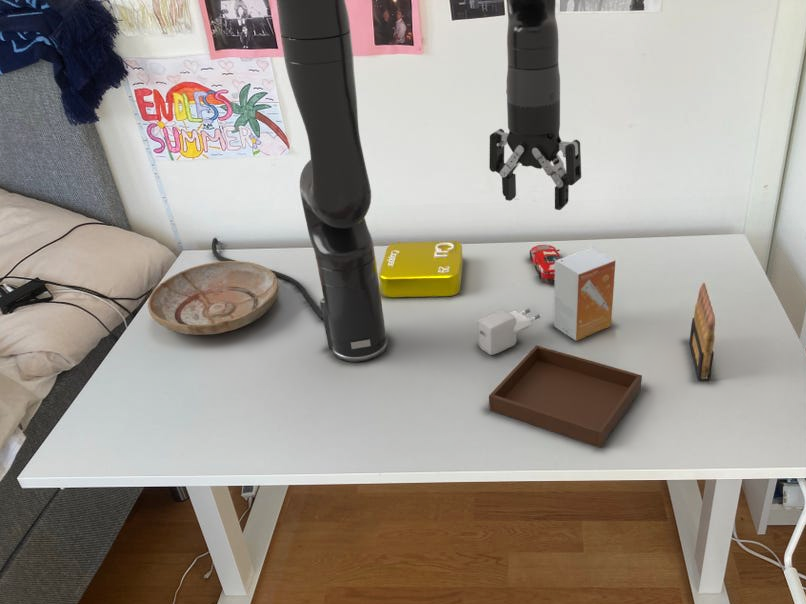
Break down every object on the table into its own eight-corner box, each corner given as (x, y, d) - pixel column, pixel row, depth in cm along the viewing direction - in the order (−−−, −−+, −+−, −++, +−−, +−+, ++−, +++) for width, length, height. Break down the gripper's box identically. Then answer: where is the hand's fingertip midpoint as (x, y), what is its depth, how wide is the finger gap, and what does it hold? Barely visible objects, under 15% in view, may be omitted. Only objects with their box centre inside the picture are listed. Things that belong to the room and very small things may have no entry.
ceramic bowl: (137, 352, 136) (128, 328, 133) (175, 286, 155) (168, 263, 152) (270, 344, 136) (264, 320, 133) (292, 279, 155) (287, 256, 152)
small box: (576, 342, 132) (578, 274, 125) (553, 326, 136) (553, 259, 129) (612, 326, 136) (616, 259, 128) (588, 311, 140) (591, 245, 133)
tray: (489, 410, 118) (488, 395, 117) (536, 359, 129) (536, 344, 127) (600, 447, 110) (601, 432, 108) (640, 389, 120) (642, 375, 119)
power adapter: (525, 323, 138) (525, 294, 134) (544, 335, 134) (544, 305, 131) (475, 347, 132) (473, 317, 129) (493, 359, 129) (491, 329, 126)
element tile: (390, 261, 160) (387, 239, 157) (463, 259, 159) (462, 237, 156) (380, 298, 147) (377, 276, 145) (459, 296, 146) (457, 274, 144)
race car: (527, 255, 159) (527, 237, 157) (553, 252, 159) (553, 234, 157) (541, 286, 148) (541, 267, 146) (569, 283, 149) (569, 264, 146)
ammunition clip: (688, 342, 130) (697, 279, 124) (700, 342, 130) (709, 279, 123) (697, 380, 122) (707, 315, 115) (710, 381, 121) (720, 315, 115)
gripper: (590, 94, 110) (587, 202, 119) (502, 84, 116) (506, 187, 126) (567, 110, 105) (566, 221, 114) (476, 98, 111) (482, 204, 120)
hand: (534, 203), depth 120 cm, fingers open, 8 cm apart
